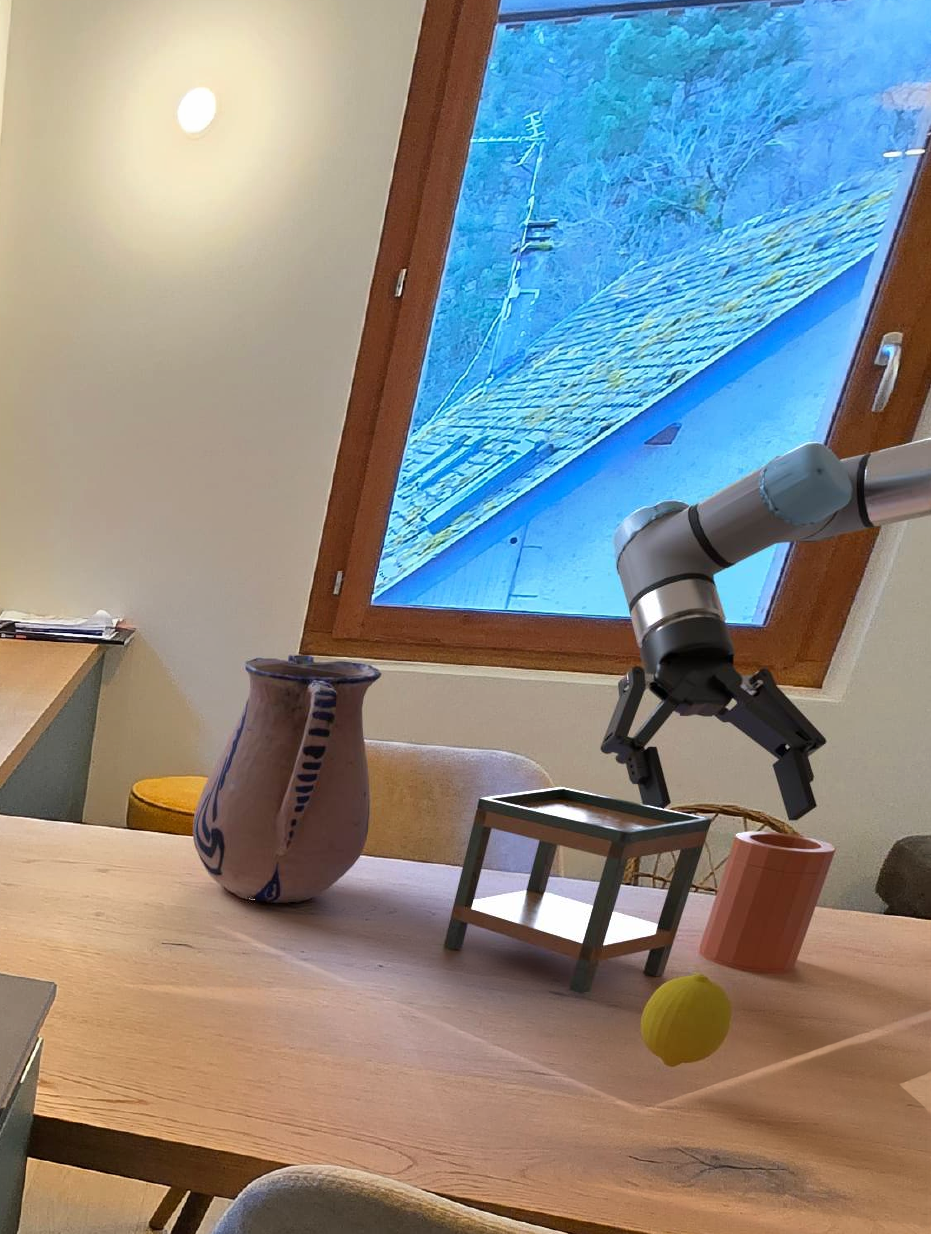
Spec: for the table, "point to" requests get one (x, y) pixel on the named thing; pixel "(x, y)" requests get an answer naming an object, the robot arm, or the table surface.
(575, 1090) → the table surface
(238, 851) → the ceramic pitcher
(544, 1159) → the table surface
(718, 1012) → the lemon
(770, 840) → the flower pot
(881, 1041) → the table surface
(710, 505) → the robot arm
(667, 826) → the rack
